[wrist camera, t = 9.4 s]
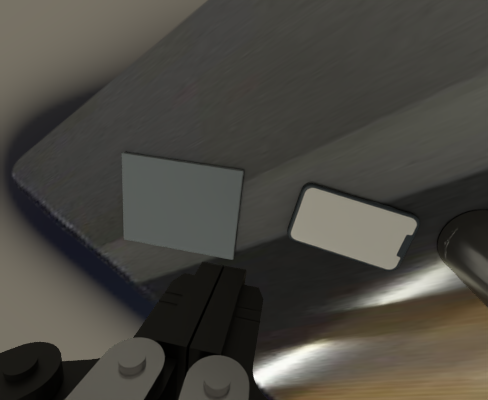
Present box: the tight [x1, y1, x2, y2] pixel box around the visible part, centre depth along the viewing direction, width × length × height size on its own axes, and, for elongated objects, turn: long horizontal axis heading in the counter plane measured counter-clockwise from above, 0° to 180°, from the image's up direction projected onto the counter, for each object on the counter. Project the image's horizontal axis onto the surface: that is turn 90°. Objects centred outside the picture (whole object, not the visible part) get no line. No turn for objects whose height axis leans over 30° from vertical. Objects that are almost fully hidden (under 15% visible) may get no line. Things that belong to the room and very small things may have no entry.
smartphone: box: [288, 183, 420, 271], centre depth 40 cm, size 9×2×16 cm
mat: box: [122, 152, 244, 260], centre depth 43 cm, size 18×14×1 cm
